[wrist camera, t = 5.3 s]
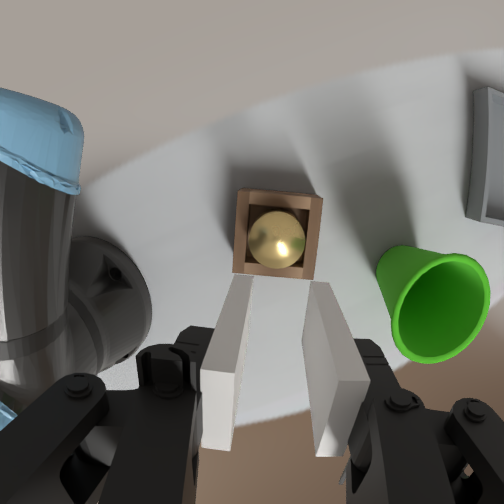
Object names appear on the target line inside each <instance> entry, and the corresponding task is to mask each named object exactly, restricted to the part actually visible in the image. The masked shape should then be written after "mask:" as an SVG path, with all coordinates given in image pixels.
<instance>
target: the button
mask: <svg viewBox="0 0 504 504" xmlns="http://www.w3.org/2000/svg"><path fill="white" fill-rule="evenodd" d="M304 247H305V235H304V231H303V229H302V227H301V225H300V223H299V221H298V219H297V218H296V217H295V216H294V215H293V214H292V213H290V212H289V211H287V210H284V209H276V208H275V209H269V210H267V211H265V212H263V213H261V214H260V215H259V216H258V217H257V218H256V220H255V221H254V223H253V226H252V228H251V231H250V234H249V248H250V251H251V253H252V255H253V257H254V258H255V259H256V260H257V261H258V262H259V263H260V264H262V265H264V266H266V267H269V268H274V269H279V268H285V267H288V266H290V265H292V264H293V263H295V262H296V261H297V260H298V259H299V258H300V256H301V255H302V253H303V251H304Z"/></svg>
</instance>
